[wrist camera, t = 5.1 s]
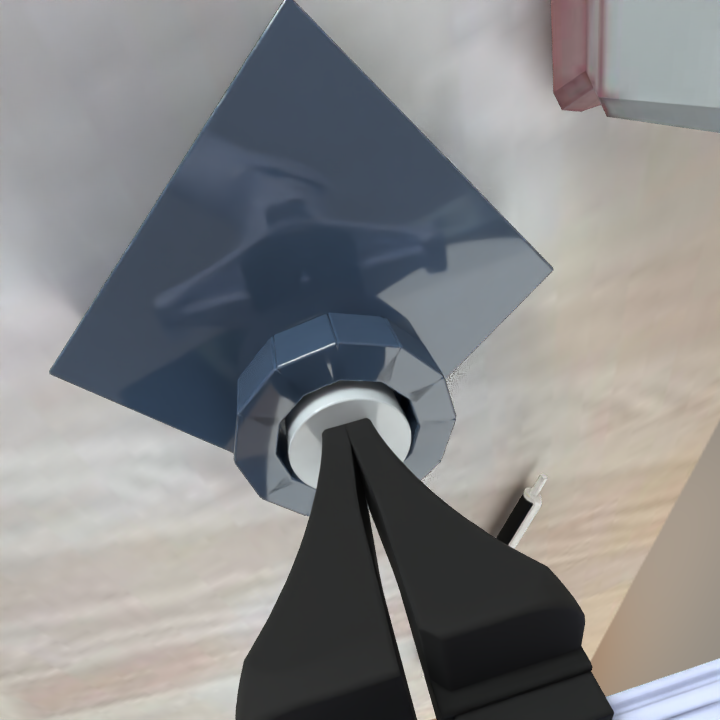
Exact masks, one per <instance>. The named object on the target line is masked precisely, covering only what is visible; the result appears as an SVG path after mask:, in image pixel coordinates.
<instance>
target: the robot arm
mask: <svg viewBox="0 0 720 720" xmlns="http://www.w3.org/2000/svg"><path fill="white" fill-rule="evenodd" d="M368 507H369V510H370V512H371V515H372V518H373V520H374V523H375V525H376V528H377V531H378V533H379V536H380V538H381V541H382V544H383V546H384V549H385V551H386V554H387V556H388V559H389V562H390V564H391V567H392V569H393V572H394V575H395V578H396V581H397V584H398V587H399V590H400V593H401V597H402V600H403V604H404V607H405V610H406V614H407V617H408V621H409V624H410V628H411V631H412V635H413V638H414V642H415V645H416V649H417V652H418V656H419V659H420V663H421V666H422V670H423V673H424V677H425V680H426V684H427V687H428V691H429V694H430V698H431V701H432V705H433V708H434V712H435V715H436V719H437V720H720V659H717V660H714V661H711V662H708V663H705V664H702V665H699V666H696V667H693V668H690V669H687V670H684V671H681V672H678V673H675V674H672V675H669V676H666V677H663V678H660V679H658V680H654V681H651V682H648V683H646V684H642V685H639V686H637V687H634V688H631V689H628V690H625V691H622V692H619V693H616V694H613V695H610V696H607V697H605V695H604V693H603V692H602V690H601V688H600V686H599V685H598V683H597V681H596V679H595V678H594V676H593V674H592V672H591V670H592V665H591V662H590V660H589V659H588V657H587V655H586V653H585V652H584V650H583V648H582V646H581V644H582V638H583V632H584V626H585V616H584V613H583V612H582V610H581V608H580V606H579V605H578V603H577V602H576V600H575V599H574V597H573V596H572V595H571V593H570V592H569V591H568V590H567V588H566V587H565V586H564V585H563V583H562V582H561V581H560V580H559V579H558V578H557V577H556V575H555V574H554V573H553V572H552V571H551V570H550V569H549V568H548V567H547V566H545V565H543V564H541V563H540V562H538V561H536V560H534V559H532V558H530V557H528V556H526V555H524V554H522V553H521V552H519V551H517V550H515V549H513V548H512V547H510V546H508V545H507V544H505V543H503V542H502V541H500V540H498V539H497V538H495V537H493V536H492V535H490V534H489V533H487V532H486V531H484V530H483V529H481V528H480V527H478V526H477V525H475V524H474V523H472V522H471V521H469V520H468V519H466V518H465V517H464V516H462V515H461V514H460V513H458V512H457V511H456V510H454V509H453V508H452V507H450V506H449V505H448V504H447V503H445V502H444V501H443V500H442V499H441V498H439V497H438V496H437V495H436V494H435V493H433V492H432V491H431V490H430V489H429V488H428V487H427V486H426V485H425V484H424V483H422V482H421V481H420V480H419V479H418V478H417V477H416V476H415V475H414V474H413V473H412V472H411V471H410V470H409V469H408V468H407V467H406V466H405V464H404V463H403V462H402V461H401V460H400V459H399V458H398V457H397V456H396V455H395V453H394V452H393V451H392V450H391V449H390V447H389V446H388V445H387V444H386V442H385V441H384V440H383V439H382V437H381V436H380V434H379V433H378V431H377V430H376V428H375V427H374V425H373V423H372V422H371V420H370V419H368V418H364V419H360V420H357V421H353V422H350V423H346V424H343V425H339V426H335V427H332V428H328V429H325V430H324V431H323V433H322V455H321V464H320V471H319V477H318V482H317V488H316V493H315V497H314V501H313V505H312V509H311V513H310V517H309V520H308V524H307V527H306V530H305V534H304V537H303V540H302V542H301V545H300V548H299V551H298V554H297V556H296V559H295V561H294V564H293V566H292V569H291V571H290V574H289V576H288V578H287V581H286V583H285V585H284V587H283V589H282V591H281V593H280V595H279V598H278V600H277V602H276V604H275V606H274V608H273V610H272V612H271V614H270V616H269V618H268V620H267V622H266V624H265V625H264V627H263V629H262V631H261V632H260V634H259V636H258V638H257V639H256V641H255V643H254V645H253V646H252V648H251V650H250V651H249V653H248V655H247V657H246V658H245V660H244V663H243V668H242V673H241V678H240V683H239V689H238V696H237V705H236V720H417V718H416V714H415V710H414V707H413V703H412V699H411V695H410V691H409V688H408V684H407V680H406V676H405V673H404V669H403V665H402V661H401V658H400V654H399V650H398V646H397V642H396V639H395V635H394V631H393V627H392V624H391V620H390V616H389V612H388V608H387V605H386V601H385V597H384V593H383V589H382V584H381V579H380V574H379V568H378V563H377V557H376V551H375V545H374V539H373V534H372V528H371V522H370V516H369V511H368Z"/></svg>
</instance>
